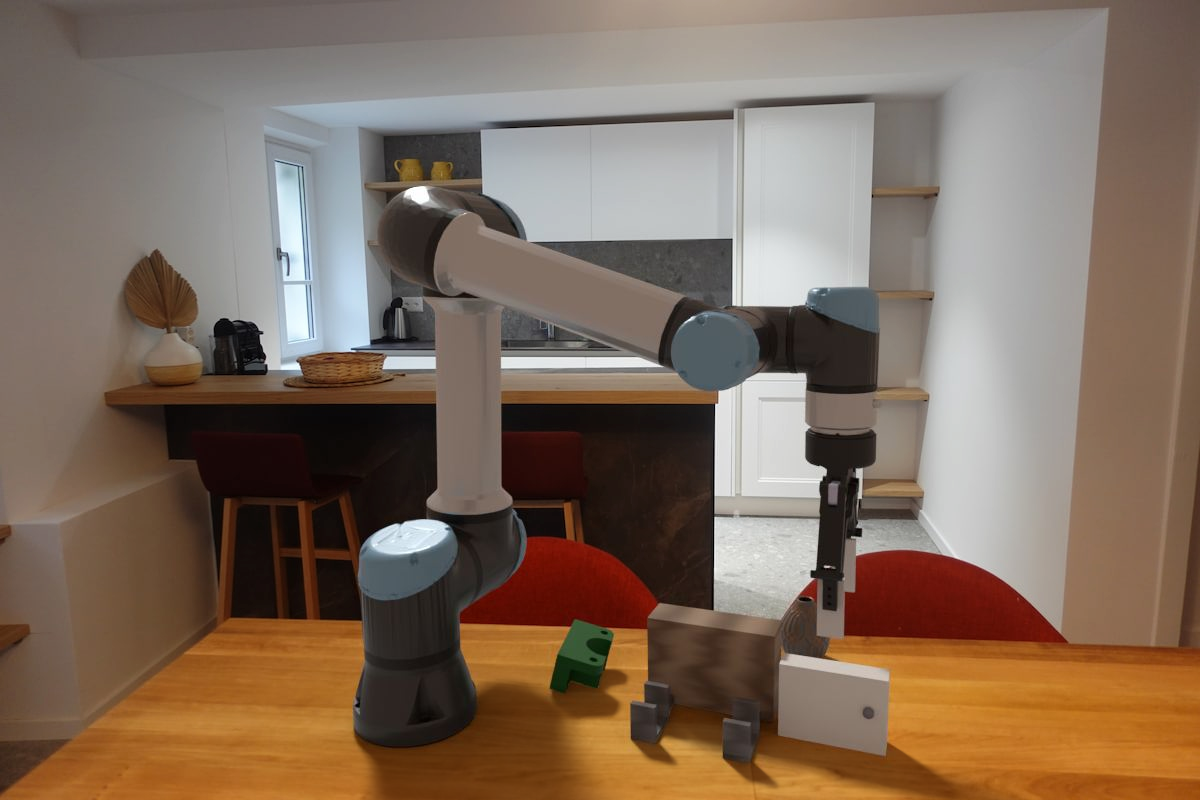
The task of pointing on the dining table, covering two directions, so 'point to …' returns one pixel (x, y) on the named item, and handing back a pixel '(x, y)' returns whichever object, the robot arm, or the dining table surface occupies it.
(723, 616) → the cabinet
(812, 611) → the vase
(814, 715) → the door
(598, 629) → the clamp
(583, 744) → the dining table surface
